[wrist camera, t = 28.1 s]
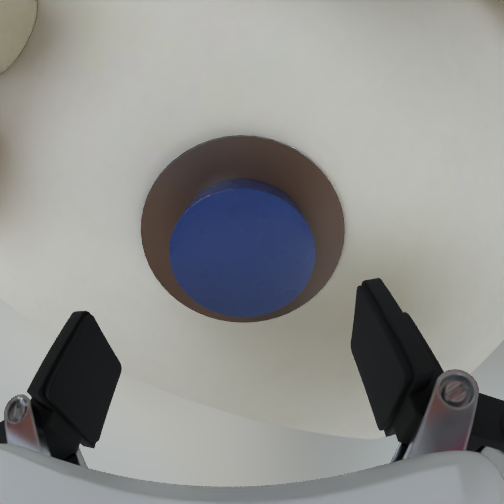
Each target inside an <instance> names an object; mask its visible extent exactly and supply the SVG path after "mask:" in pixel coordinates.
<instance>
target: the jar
mask: <svg viewBox="0 0 504 504" xmlns="http://www.w3.org/2000/svg"><path fill="white" fill-rule="evenodd" d="M36 15H37V1H36V0H0V73H2V72H4V71H5V70H6V69H7V68H8V67H10V65H11V64H12V63H13V62H14V61H15V60H16V59H17V57H18V56H19V54H20V53H21V51H22V50H23V48H24V46H25V44H26V43H27V41H28V39H29V37H30V34H31V32H32V29H33V26H34V23H35V20H36Z"/></svg>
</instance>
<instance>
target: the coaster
mask: <svg viewBox="0 0 504 504" xmlns="http://www.w3.org/2000/svg"><path fill="white" fill-rule="evenodd" d="M231 179H253V180H258V181H262V182H265V183H268V184H271V185H273V186H275V187H277V188H279V189H280V190H282V191H283V192H285V193H286V194H287V195H288V196H289V197H291V198H292V199H293V200H294V202H295V203H296V204H297V205H298V207H299V208H300V210H301V211H302V213H303V215H304V217H305V219H306V221H307V224H308V226H309V228H310V230H311V232H312V235H313V239H314V242H315V246H316V248H315V250H316V254H315V264H314V269H313V272H312V275H311V277H310V279H309V281H308V283H307V285H306V286H305V287H304V289H303V290H302V291H301V293H300V294H299V295H298V296H297V297H296V298H295V299H293V300H292V301H291V302H290V303H288V304H287V305H285V306H284V307H282V308H280V309H278V310H276V311H273V312H271V313H268V314H264V315H261V316H255V317H232V316H226V315H222V314H218V313H216V312H213V311H210V310H208V309H206V308H204V307H202V306H201V305H199V304H198V303H196V302H195V301H194V300H193V299H191V298H190V297H189V296H188V295H187V294H186V293H185V292H184V291H183V289H182V288H181V287H180V285H179V284H178V282H177V280H176V278H175V276H174V274H173V271H172V268H171V264H170V258H169V244H170V239H171V235H172V233H173V230H174V227H175V226H176V224H177V222H178V220H179V218H180V217H181V215H182V213H183V212H184V210H185V209H186V207H187V206H188V204H189V203H190V202H191V201H192V200H193V199H194V198H195V197H196V196H197V195H198V194H199V193H200V192H202V191H203V190H205V189H206V188H208V187H210V186H212V185H214V184H217V183H220V182H222V181H227V180H231ZM141 236H142V244H143V248H144V252H145V256H146V258H147V261H148V263H149V266H150V268H151V270H152V271H153V273H154V275H155V277H156V278H157V279H158V281H159V282H160V283H161V285H162V286H163V287H164V288H165V289H166V290H167V291H168V292H169V293H170V294H171V295H172V296H173V297H174V298H175V299H177V300H178V301H179V302H181V303H182V304H184V305H185V306H187V307H188V308H190V309H192V310H194V311H196V312H198V313H200V314H203V315H205V316H208V317H211V318H215V319H219V320H224V321H230V322H257V321H264V320H269V319H272V318H276V317H279V316H282V315H284V314H287V313H289V312H291V311H293V310H295V309H297V308H299V307H300V306H302V305H303V304H305V303H306V302H308V301H309V300H310V299H311V298H313V297H314V296H315V295H316V294H317V293H318V292H319V291H320V290H321V289H322V288H323V287H324V286H325V284H326V283H327V281H328V280H329V279H330V277H331V276H332V274H333V272H334V270H335V268H336V266H337V264H338V261H339V259H340V256H341V252H342V248H343V243H344V218H343V213H342V208H341V205H340V202H339V199H338V197H337V194H336V192H335V190H334V189H333V187H332V185H331V183H330V182H329V180H328V179H327V178H326V176H325V175H324V174H323V172H322V171H321V170H320V169H319V168H318V167H317V166H316V165H315V164H314V163H313V162H312V161H311V160H309V159H308V158H307V157H305V156H304V155H303V154H301V153H300V152H298V151H297V150H295V149H293V148H291V147H289V146H287V145H285V144H283V143H280V142H277V141H274V140H271V139H267V138H262V137H257V136H243V135H239V136H227V137H222V138H217V139H213V140H210V141H207V142H204V143H202V144H199V145H197V146H195V147H193V148H191V149H190V150H188V151H186V152H184V153H183V154H182V155H180V156H179V157H178V158H176V159H175V160H174V161H172V162H171V163H170V164H169V165H168V166H167V167H166V168H165V169H164V170H163V172H162V173H161V174H160V175H159V177H158V178H157V180H156V181H155V182H154V184H153V186H152V188H151V190H150V192H149V194H148V196H147V199H146V202H145V205H144V208H143V214H142V219H141Z"/></svg>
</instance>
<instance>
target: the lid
mask: <svg viewBox="0 0 504 504" xmlns="http://www.w3.org/2000/svg"><path fill="white" fill-rule="evenodd" d="M315 248H316V246H315V242H314V239H313V235H312V232H311V230H310V228H309V226H308V224H307V221H306V219H305V217H304V215H303V213H302V211H301V210H300V208H299V207H298V205H297V204H296V203H295V202H294V200H293V199H292V198H291V197H289V196H288V195H287V194H286V193H285V192H283V191H282V190H280V189H279V188H277V187H275V186H273V185H271V184H268V183H265V182H262V181H258V180H253V179H231V180H227V181H222V182H220V183H217V184H214V185H212V186H210V187H208V188H206V189H205V190H203V191H202V192H200V193H199V194H198V195H197V196H196V197H195V198H194V199H193V200H192V201H191V202H190V203H189V204H188V206H187V207H186V209H185V210H184V212H183V213H182V215H181V217H180V218H179V220H178V222H177V224H176V226H175V227H174V230H173V233H172V235H171V239H170V244H169V258H170V264H171V268H172V271H173V274H174V276H175V278H176V280H177V282H178V284H179V285H180V287H181V288H182V289H183V291H184V292H185V293H186V294H187V295H188V296H189V297H190V298H191V299H193V300H194V301H195V302H196V303H198V304H199V305H201V306H202V307H204V308H206V309H208V310H210V311H213V312H216V313H218V314H222V315H226V316H232V317H255V316H261V315H264V314H268V313H271V312H273V311H276V310H278V309H280V308H282V307H284V306H285V305H287V304H288V303H290V302H291V301H292V300H293V299H295V298H296V297H297V296H298V295H299V294H300V293H301V291H302V290H303V289H304V287H305V286H306V285H307V283H308V281H309V279H310V277H311V275H312V272H313V269H314V264H315V254H316V250H315Z"/></svg>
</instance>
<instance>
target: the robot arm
mask: <svg viewBox="0 0 504 504" xmlns="http://www.w3.org/2000/svg"><path fill="white" fill-rule="evenodd" d="M351 350H352V354H353V356H354V359H355V362H356V365H357V367H358V370H359V373H360V376H361V378H362V381H363V384H364V387H365V390H366V393H367V396H368V399H369V402H370V405H371V408H372V411H373V414H374V417H375V420H376V423H377V426H378V428H379V430H380V431H381V430H384V432H385V435H386V437H387V436H391V435H394V434H396V436H397V439H398V441H399V442H400V444H399V446H398V448H397V450H396V452H395V454H394V456H393V458H392V460H391V462H390V463H389V464H385V465H381V466H377V467H373V468H369V469H365V470H361V471H357V472H353V473H348V474H344V475H339V476H333V477H328V478H322V479H317V480H310V481H303V482H296V483H287V484H278V485H266V486H248V487H247V486H246V487H209V486H207V487H206V486H188V485H177V484H167V483H159V482H152V481H145V480H139V479H133V478H127V477H123V476H118V475H113V474H109V473H104V472H100V471H96V470H93V469H89V468H87V466H86V463H85V461H84V458H83V456H82V454H81V451H80V449H79V444H82V445H83V446H86V447H91V448H94V447H95V444H96V442H97V441H98V440H99V438H100V435H101V431H102V428H103V424H104V422H105V418H106V415H107V412H108V409H109V406H110V403H111V400H112V397H113V394H114V391H115V388H116V385H117V382H118V379H119V377H120V374H121V369H122V368H121V364H120V362H119V360H118V358H117V357H116V355H115V354H114V352H113V350H112V349H111V347H110V345H109V343H108V342H107V340H106V338H105V336H104V335H103V333H102V331H101V329H100V327H99V326H98V324H97V322H96V320H95V318H94V317H93V316H92V315H91V314H90V313H89V312H87V311H78V312H73V313H72V315H71V316H70V318H69V319H68V321H67V322H66V324H65V326H64V327H63V329H62V330H61V332H60V334H59V335H58V337H57V338H56V340H55V342H54V343H53V345H52V347H51V348H50V350H49V352H48V354H47V355H46V357H45V359H44V361H43V363H42V364H41V366H40V368H39V370H38V372H37V373H36V375H35V377H34V379H33V381H32V383H31V385H30V386H29V388H28V390H27V392H28V393H29V394H30V395H31V397H32V399H31V400H30V399H29V398H28V397H27V396H25V395H17V396H15V397H13V398H12V399H11V400H10V401H9V402H8V404H7V405H6V407H5V411H4V420H3V421H2V422H0V504H504V401H503V400H499V399H496V398H493V397H490V396H487V395H484V394H481V393H479V388H478V385H477V382H476V381H475V379H474V378H473V377H472V376H471V375H470V374H468V373H467V372H464V371H462V370H456V369H454V370H448V371H446V372H443V370H442V368H441V366H440V364H439V363H438V361H437V359H436V358H435V356H434V354H433V352H432V351H431V349H430V347H429V346H428V344H427V342H426V341H425V339H424V338H423V336H422V334H421V333H420V331H419V329H418V328H417V326H416V325H415V323H414V322H413V320H412V318H411V317H410V316H409V315H408V313H406V312H404V313H403V312H402V310H401V309H400V307H399V306H398V304H397V302H396V301H395V299H394V298H393V296H392V295H391V293H390V292H389V290H388V289H387V287H386V286H385V284H384V283H383V282H382V280H381V279H380V278H376V279H371V280H365V281H363V282H362V286H358V287H357V294H356V304H355V314H354V323H353V331H352V338H351Z"/></svg>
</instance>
